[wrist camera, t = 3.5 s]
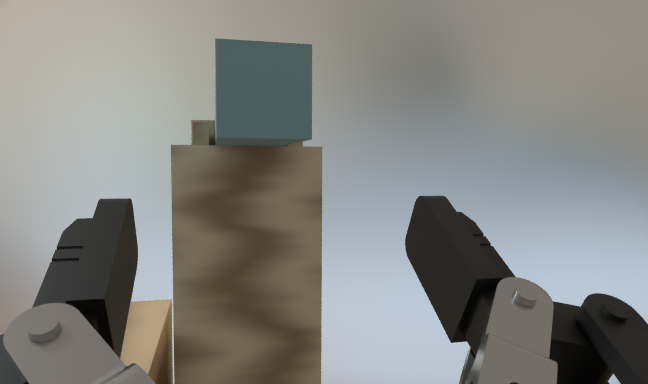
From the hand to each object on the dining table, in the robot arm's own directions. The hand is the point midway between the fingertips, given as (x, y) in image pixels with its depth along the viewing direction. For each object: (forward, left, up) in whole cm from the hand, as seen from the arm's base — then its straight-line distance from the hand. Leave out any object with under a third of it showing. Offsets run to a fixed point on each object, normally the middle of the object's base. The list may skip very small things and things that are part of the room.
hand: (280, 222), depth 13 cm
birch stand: (0, +20, -29) cm, 35 cm away
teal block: (0, +15, +3) cm, 16 cm away
